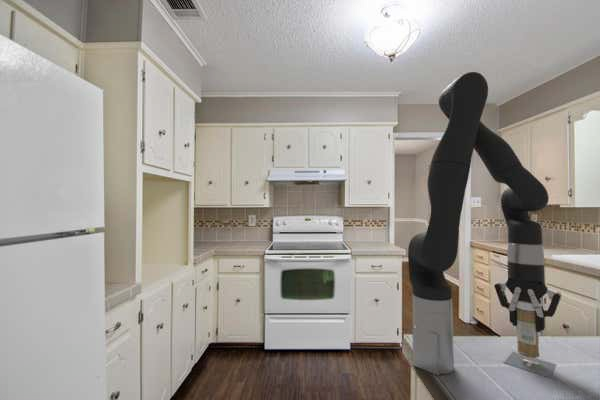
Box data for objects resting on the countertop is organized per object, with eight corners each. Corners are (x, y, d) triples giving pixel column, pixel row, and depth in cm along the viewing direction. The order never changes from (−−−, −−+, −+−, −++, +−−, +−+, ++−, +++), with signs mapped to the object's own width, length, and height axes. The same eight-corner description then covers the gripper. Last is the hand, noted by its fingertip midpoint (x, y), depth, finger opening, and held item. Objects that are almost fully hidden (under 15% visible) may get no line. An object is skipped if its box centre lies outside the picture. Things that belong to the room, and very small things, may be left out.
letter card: (549, 377, 66) (549, 377, 66) (503, 362, 73) (503, 362, 73) (556, 364, 72) (556, 364, 72) (512, 351, 79) (512, 351, 79)
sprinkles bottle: (542, 355, 72) (540, 301, 73) (535, 360, 70) (533, 304, 70) (520, 348, 76) (519, 297, 77) (513, 352, 73) (512, 299, 74)
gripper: (488, 258, 77) (490, 323, 76) (559, 266, 66) (562, 341, 65) (497, 256, 82) (498, 317, 81) (564, 263, 71) (566, 333, 70)
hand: (527, 327), depth 73 cm, fingers closed on sprinkles bottle, 4 cm apart
